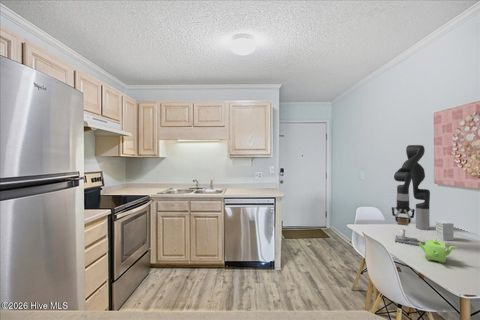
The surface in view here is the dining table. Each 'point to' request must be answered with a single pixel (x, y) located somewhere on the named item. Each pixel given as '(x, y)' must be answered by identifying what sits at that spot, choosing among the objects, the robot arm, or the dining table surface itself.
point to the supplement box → (444, 230)
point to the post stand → (406, 239)
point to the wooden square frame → (403, 221)
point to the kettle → (435, 250)
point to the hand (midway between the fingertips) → (402, 222)
